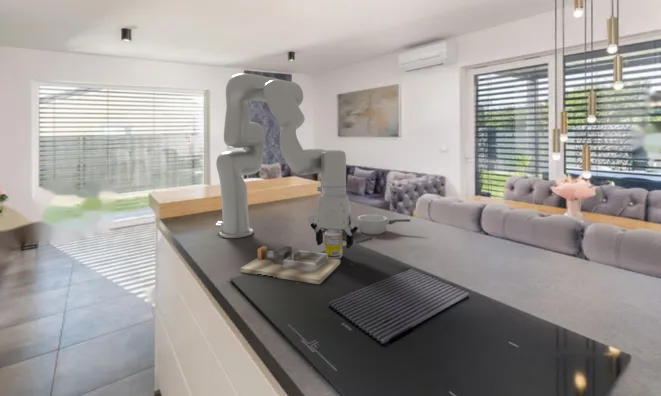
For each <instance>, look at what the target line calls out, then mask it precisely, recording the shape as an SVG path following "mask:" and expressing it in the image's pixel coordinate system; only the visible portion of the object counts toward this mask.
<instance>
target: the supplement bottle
mask: <svg viewBox="0 0 661 396" xmlns="http://www.w3.org/2000/svg"><path fill="white" fill-rule="evenodd" d="M343 241H344V240H343V230H336V229H327V230H325V231H324V253H326V254H328V258H331V259H341V258H342V257H343V252H344V251H343V246H344V245H343Z"/></svg>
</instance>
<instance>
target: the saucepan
mask: <svg viewBox="0 0 661 396" xmlns="http://www.w3.org/2000/svg"><path fill="white" fill-rule="evenodd" d="M357 219H359V220H361V221H362V223H361V225H360V227H359V229H358V231H360V232H362V233H363V234H366V235H381V234H383V233H385V232H386V231H387V225H393V224H395V223H396V222H397V223H398V222H399V223H402V222H403V223H406V222H411V219H410V218H409V219H408V218H405V219H404V218H403V219H402V218H401V219H400V218H394V219H389V218H388V217H387V216H384V215H380V214H362V215H359V216H357Z"/></svg>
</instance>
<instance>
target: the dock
mask: <svg viewBox="0 0 661 396" xmlns="http://www.w3.org/2000/svg"><path fill="white" fill-rule="evenodd" d="M272 251H273V260H272V259H262V260H258V257H257V258H255V259H253V260H251V261H250V262H248V263H247V264H245V265H243V266H241V267H240V273H245V274H251V275H257V274H262V275H261V276H263V275H268V276H267V277H269V276H273V277H272V278H276V277H277V278H276V279H284V280H289V281H297V282H301V283H309V284H313V285H314V284H316V285H321V284H322V283H323V282H324V281H325V280H326V279H327V278H328V277H329V276H330V275H331V274H332V273H333V272H334V271H335V270H336V269H337V268H338V266H339V265H340V264H341V259H340V258H338V259H331V258H328V254H326V253H325V252H318V251H317V252H316V251H311V250H302V249H297V250H296V251H294V252H292V251H293V250H292V246H290V245H283V244H282V245H281V246H279V247H277V248H276V249H274V250H272ZM285 253H286V259H285Z"/></svg>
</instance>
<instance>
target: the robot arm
mask: <svg viewBox="0 0 661 396" xmlns="http://www.w3.org/2000/svg"><path fill="white" fill-rule="evenodd" d="M225 100H226V101H225V102H226V103H225V105H226V108H225V109H226V110H225V117H224V118H225V119H224V128H223V142H224V144H225V146H227V147H228V148H232V149H233V148H234V149H237V150H228V151H227V150H226V151H224V152H222V153H220V154H219V155H218V156H217V159H216V165H215V166H216V171H217V173H218V177H219V185H220V195H221V197H220V198H221V199H220V200H221V211H222V212H221V213H222V221H220V220H218V221H217V222H216V223H215V227H216V228H220V230H219V233H218V234H219V236H220V237H221V238H226V239H239V238H244V237H248V236H251V235H253V234H254V229H253V228H251V227H250V225H249V203H248V200H249V199H248V188H247V184H246V181H245V180H244V178H243V177H242V176H249V175H254V174H257V173H258V172H259V171H260V169H261V168H262V165H263V164H262V163H263V157H264V150H265V144H266V143H265V142H266V134H265V130H264V127H263V126H262V125H261V124H260V123H258V122H255V121H251V115H252V112H251V107H250V106H251V105H250V103H249V102H248V101H255V102H265V103H266V104H267V106H268V108H269V110H270V112H271V113H272V115H273V117H274V120H275V121H276V123H277V124H278V127H279V128H280V132H279V138H278V139H279V149H280V152H281V155H282V157H283V158H284V161H285V162H286V164H287V165H288V167H289V169H290V171H292V172H293V173H294V174H296V175H299V176H306V175H311V174H319V173H320V179H321V181H320V182H321V185H320V186H317V189H316V190H317V192H320V195H318V199H317V206H316V213H315V214H313V215H311V216H309V217H307V221H308V223H309V224H310V227H311V229H313V231H314V233H315V242H316V244H317V246H320V245H322V244H323V243H324V231H323V229H336V230H341V231H345V233H347V235H346V238H345V241H346V249H350V248H351V247H352V246H353V245H354V233H356V232H357V231H359V227H360V225H361V223H362V221H361V220H359V219H358V217H355V216H354V215H352V212H351V211H352V210H351V203H350V199H349V195H347V154H346V151H343V150H340V149H332V150H329V149H328V150H327V149H322V148H313V149H312V148H311V149H310V148H309V149H304V148H303V146H302V145H301V144H300V141H299V138H298V137H297V130H298V129H299V128H300V127H302V126H303V124H304V123H305V115H304V113H303V111H302V110H301V108H300V106H301V104H302V103H303V100H304V92H303V89H302V87H301V85H299V84H298V83H297V82H294V81H291V80H290V81H289V80H284V79H279V78H275V77H269V76H264V75H258V74H253V73H237V74H234V75H232V76H231V77H230V78H229V79H228V81H227V84H226V87H225ZM242 148H243V149H242ZM239 149H241V150H239ZM321 194H322V195H321ZM315 219H316V221H315ZM352 222H353V223H354V224H355V225H354V227H352Z"/></svg>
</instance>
